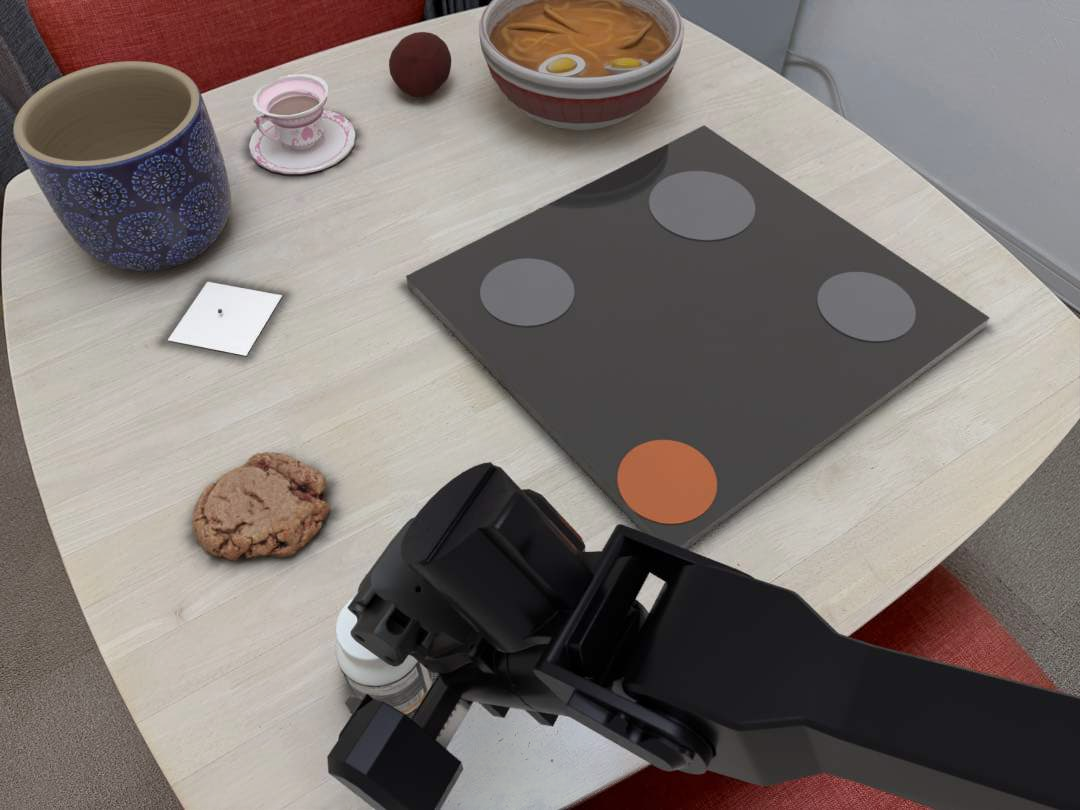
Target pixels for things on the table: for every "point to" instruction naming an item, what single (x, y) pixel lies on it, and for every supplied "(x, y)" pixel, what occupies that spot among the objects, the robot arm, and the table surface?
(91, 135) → the planter
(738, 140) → the table surface
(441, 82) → the potato
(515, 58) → the bowl
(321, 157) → the teacup
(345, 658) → the pill bottle
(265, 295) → the coaster
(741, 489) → the hob
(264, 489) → the cookie
